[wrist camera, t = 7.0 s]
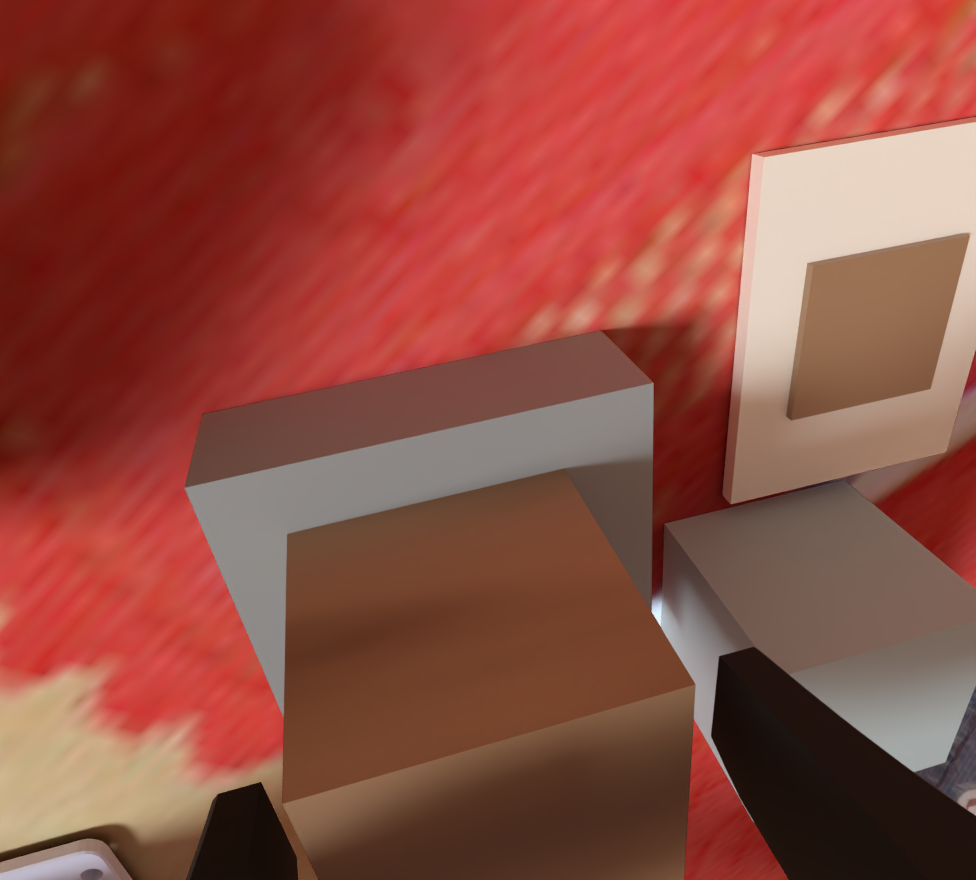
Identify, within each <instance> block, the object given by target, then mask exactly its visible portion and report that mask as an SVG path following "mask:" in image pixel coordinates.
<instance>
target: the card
mask: <svg viewBox="0 0 976 880" xmlns="http://www.w3.org/2000/svg"><path fill="white" fill-rule="evenodd" d="M975 350H976V117H972V118H966V119H960V120H954V121H948V122H942V123H936V124H930V125H924V126H918V127H912V128H906V129H900V130H894V131H888V132H882V133H876V134H870V135H864V136H858V137H852V138H845V139H839V140H833V141H827V142H821V143H815V144H809V145H803V146H797V147H791V148H785V149H779V150H773V151H767V152H761V153H755V154H752V163H751V175H750V186H749V197H748V209H747V220H746V231H745V243H744V254H743V265H742V277H741V288H740V299H739V311H738V322H737V334H736V345H735V356H734V368H733V379H732V390H731V402H730V413H729V424H728V436H727V447H726V458H725V470H724V481H723V493H722V495H723V497H724V498H725V499H726V500H727V501H728V502H729V503H730V504H734V503H739V502H743V501H747V500H751V499H755V498H759V497H763V496H767V495H772V494H776V493H780V492H784V491H788V490H792V489H796V488H800V487H805V486H809V485H813V484H817V483H821V482H825V481H829V480H834V479H838V478H842V477H846V476H850V475H854V474H858V473H862V472H867V471H871V470H875V469H879V468H883V467H887V466H891V465H895V464H900V463H904V462H908V461H912V460H916V459H920V458H924V457H928V456H933V455H937V454H941V453H945V452H946V451H947V448H948V444H949V441H950V437H951V434H952V430H953V427H954V423H955V420H956V416H957V413H958V409H959V406H960V402H961V399H962V395H963V392H964V388H965V385H966V381H967V378H968V375H969V371H970V368H971V364H972V361H973V357H974V354H975Z"/></svg>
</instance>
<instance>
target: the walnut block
mask: <svg viewBox="0 0 976 880" xmlns="http://www.w3.org/2000/svg"><path fill="white" fill-rule="evenodd" d="M695 688H696V684H695V683H694V681H693V679H692V678H691V676H690V674H689V673H688V671H687V669H686V668H685V666H684V665H683V663H682V661H681V660H680V658H679V656H678V655H677V653H676V651H675V650H674V648H673V647H672V645H671V643H670V642H669V640H668V638H667V637H666V635H665V633H664V632H663V630H662V629H661V627H660V625H659V624H658V622H657V620H656V619H655V617H654V615H653V614H652V612H651V611H650V609H649V607H648V606H647V604H646V602H645V601H644V599H643V597H642V596H641V594H640V593H639V591H638V589H637V588H636V586H635V584H634V583H633V581H632V579H631V578H630V576H629V574H628V573H627V571H626V570H625V568H624V566H623V565H622V563H621V561H620V560H619V558H618V556H617V555H616V553H615V552H614V550H613V548H612V547H611V545H610V543H609V542H608V540H607V538H606V537H605V535H604V534H603V532H602V530H601V529H600V527H599V525H598V524H597V522H596V520H595V519H594V517H593V516H592V514H591V512H590V511H589V509H588V507H587V506H586V504H585V502H584V501H583V499H582V498H581V496H580V494H579V493H578V491H577V489H576V488H575V486H574V484H573V483H572V481H571V480H570V478H569V476H568V475H567V473H566V471H565V470H564V469H559V470H555V471H551V472H547V473H543V474H538V475H534V476H530V477H526V478H521V479H517V480H513V481H509V482H504V483H500V484H496V485H492V486H488V487H483V488H479V489H475V490H471V491H466V492H462V493H458V494H454V495H450V496H445V497H441V498H437V499H433V500H428V501H424V502H420V503H416V504H411V505H407V506H403V507H399V508H395V509H390V510H386V511H382V512H378V513H373V514H369V515H365V516H361V517H357V518H352V519H348V520H344V521H340V522H335V523H331V524H327V525H323V526H319V527H314V528H310V529H306V530H302V531H297V532H293V533H289V534H287V562H286V618H285V674H284V730H283V786H282V805H283V807H284V809H285V811H286V813H287V815H288V817H289V819H290V821H291V824H292V826H293V828H294V830H295V832H296V834H297V836H298V838H299V840H300V842H301V844H302V846H303V849H304V851H305V853H306V855H307V857H308V859H309V861H310V863H311V865H312V867H313V869H314V871H315V874H316V876H317V878H318V880H684V871H685V854H686V837H687V821H688V804H689V788H690V771H691V754H692V738H693V721H694V704H695Z"/></svg>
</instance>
